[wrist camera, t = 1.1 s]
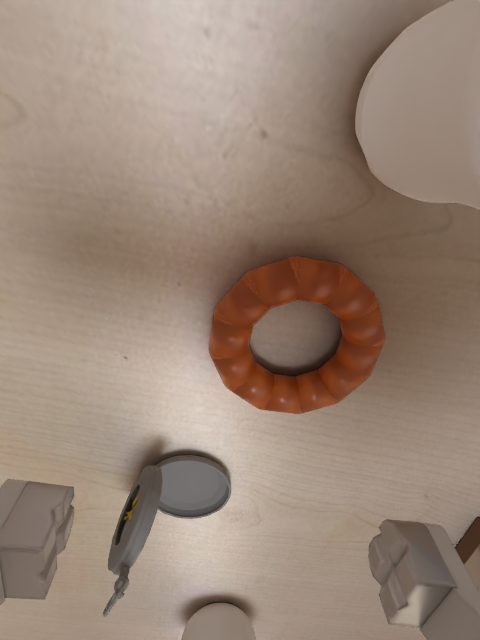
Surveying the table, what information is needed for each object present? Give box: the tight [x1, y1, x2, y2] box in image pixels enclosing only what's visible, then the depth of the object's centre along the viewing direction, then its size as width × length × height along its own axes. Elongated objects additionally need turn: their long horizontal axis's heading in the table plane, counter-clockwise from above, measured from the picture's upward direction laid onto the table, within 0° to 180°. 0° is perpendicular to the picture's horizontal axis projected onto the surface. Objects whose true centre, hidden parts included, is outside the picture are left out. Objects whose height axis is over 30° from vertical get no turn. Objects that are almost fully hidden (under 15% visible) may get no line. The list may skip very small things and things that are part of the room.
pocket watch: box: [103, 455, 231, 617], centre depth 25 cm, size 8×8×10 cm
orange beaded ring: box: [209, 256, 385, 414], centre depth 23 cm, size 10×10×2 cm
